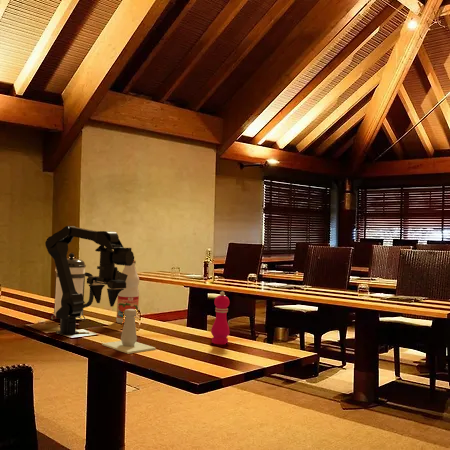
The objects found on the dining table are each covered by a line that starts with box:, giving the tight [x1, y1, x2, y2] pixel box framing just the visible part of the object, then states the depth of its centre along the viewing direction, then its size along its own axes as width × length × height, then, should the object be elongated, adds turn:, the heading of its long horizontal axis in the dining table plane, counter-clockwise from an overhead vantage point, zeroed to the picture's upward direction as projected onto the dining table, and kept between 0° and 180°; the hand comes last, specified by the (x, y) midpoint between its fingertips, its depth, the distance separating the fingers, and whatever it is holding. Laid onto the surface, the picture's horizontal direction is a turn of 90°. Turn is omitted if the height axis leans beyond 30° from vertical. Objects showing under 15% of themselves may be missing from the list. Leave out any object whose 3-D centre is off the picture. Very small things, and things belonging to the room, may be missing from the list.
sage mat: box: [101, 340, 157, 355], centre depth 194 cm, size 16×12×1 cm
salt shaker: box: [120, 309, 138, 347], centre depth 195 cm, size 6×6×13 cm
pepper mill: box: [210, 291, 231, 345], centre depth 210 cm, size 7×7×20 cm
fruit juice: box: [116, 259, 140, 325], centre depth 243 cm, size 9×9×28 cm
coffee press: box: [50, 252, 95, 322], centre depth 243 cm, size 17×16×30 cm
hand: (105, 304), depth 206 cm, fingers open, 9 cm apart
